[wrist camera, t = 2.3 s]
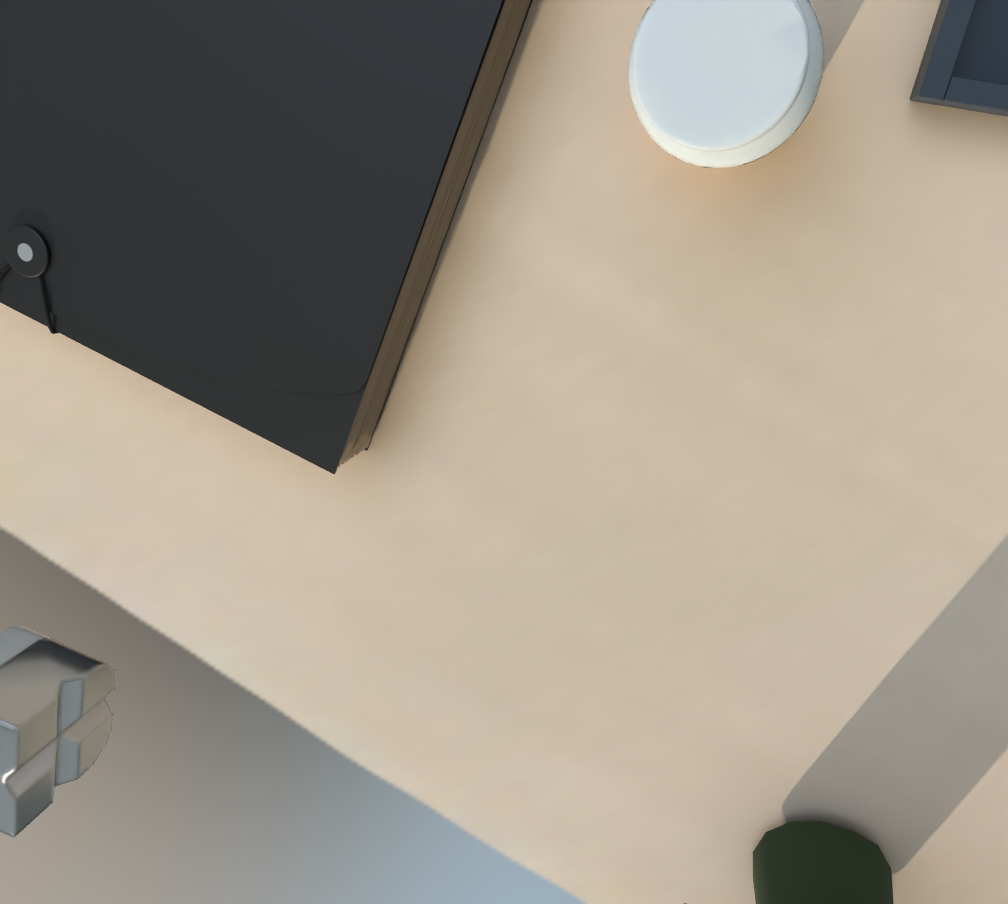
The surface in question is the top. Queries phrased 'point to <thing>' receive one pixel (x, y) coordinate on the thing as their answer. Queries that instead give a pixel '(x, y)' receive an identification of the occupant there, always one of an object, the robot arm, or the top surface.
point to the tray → (966, 57)
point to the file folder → (243, 190)
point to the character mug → (819, 867)
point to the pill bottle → (725, 76)
